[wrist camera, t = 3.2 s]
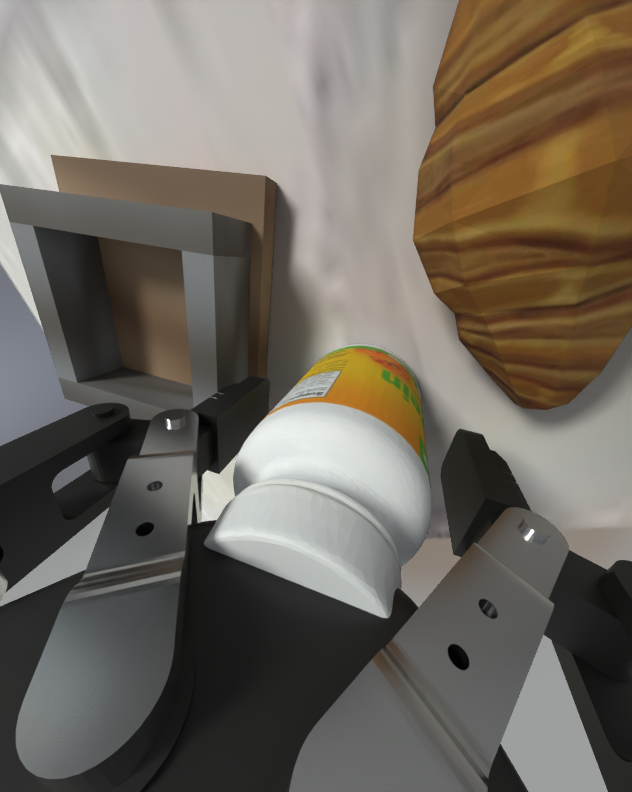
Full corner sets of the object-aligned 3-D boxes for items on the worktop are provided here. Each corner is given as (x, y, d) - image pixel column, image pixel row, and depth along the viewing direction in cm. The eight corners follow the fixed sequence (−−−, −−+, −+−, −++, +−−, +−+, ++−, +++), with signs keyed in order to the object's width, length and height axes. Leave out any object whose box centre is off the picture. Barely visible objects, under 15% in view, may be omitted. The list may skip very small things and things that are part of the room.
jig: (75, 162, 13) (-30, 129, 10) (276, 183, 11) (225, 150, 8) (122, 394, 18) (65, 420, 15) (262, 436, 16) (229, 475, 13)
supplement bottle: (440, 423, 13) (506, 726, 4) (340, 456, 15) (258, 693, 7) (388, 318, 12) (338, 457, 3) (288, 372, 14) (109, 532, 6)
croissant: (376, 2, 8) (345, -287, 4) (695, -209, 6) (1507, -1544, 2) (434, 403, 13) (449, 473, 8) (630, 380, 10) (792, 461, 6)
